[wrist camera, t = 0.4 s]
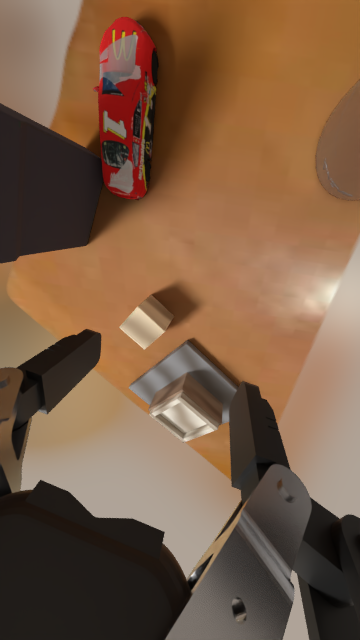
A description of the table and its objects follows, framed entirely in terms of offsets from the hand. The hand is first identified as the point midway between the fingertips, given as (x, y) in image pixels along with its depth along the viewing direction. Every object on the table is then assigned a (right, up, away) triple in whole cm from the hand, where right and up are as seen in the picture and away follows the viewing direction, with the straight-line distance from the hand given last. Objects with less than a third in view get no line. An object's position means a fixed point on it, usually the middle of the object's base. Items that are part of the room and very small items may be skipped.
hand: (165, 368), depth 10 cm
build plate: (+3, -12, +27) cm, 30 cm away
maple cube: (-4, +4, +21) cm, 21 cm away
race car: (-4, +24, +11) cm, 26 cm away
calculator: (-12, +19, +15) cm, 27 cm away
